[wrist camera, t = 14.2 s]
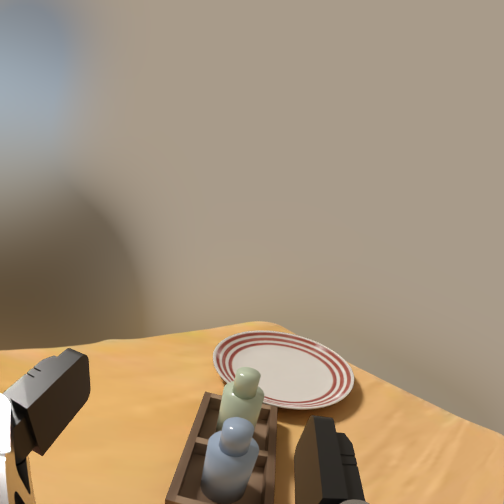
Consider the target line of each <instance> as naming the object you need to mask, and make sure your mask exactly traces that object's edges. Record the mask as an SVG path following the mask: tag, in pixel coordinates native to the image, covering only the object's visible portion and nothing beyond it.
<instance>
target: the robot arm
mask: <svg viewBox="0 0 504 504" xmlns="http://www.w3.org/2000/svg"><path fill="white" fill-rule="evenodd" d="M89 394H90V375H89V360H88V357H87V355H85V354H82V353H80V352H77V351H75V350H73V349H70V348H68V349H66V350H65V351H64V352H62V353H61V354H60V355H59V356H58V357H56V356H51V357H49V358H46V359H43V360H42V361H40V362H39V363H38V364H37V365H36V366H34V368H32V369H31V370H30V371H28V372H27V374H25V375H24V376H22V377H21V378H20V379H19V380H18V381H17V382H15V383H14V384H13V385H12V386H11V387H10V388H8V389H7V390H6V391H5V392H4V393H3V394H0V504H36V502H35V497H34V492H33V485H32V478H31V471H30V462H29V457H28V454H29V453H30V452H31V451H32V450H33V451H35V452H36V453H38V454H40V455H41V456H43V455H44V454H45V452H46V451H47V450H48V449H49V447H50V446H51V445H52V444H53V442H54V441H55V440H56V439H57V437H58V436H59V435H60V434H61V432H62V431H63V430H64V429H65V427H66V426H67V425H68V424H69V422H70V421H71V420H72V419H73V418H74V416H75V415H76V414H77V413H78V411H79V410H80V409H81V408H82V407H83V405H84V404H85V403H86V401H87V400H88V397H89ZM294 472H295V504H369V503H367V502H366V501H365V498H364V493H363V489H362V484H361V480H360V475H359V471H358V466H357V462H356V458H355V453H354V449H353V445H352V443H351V441H350V440H349V439H348V437H347V436H346V435H345V433H336V429H335V424H334V420H333V418H329V417H321V416H313V415H312V416H310V418H309V419H308V422H307V424H306V426H305V428H304V431H303V433H302V435H301V437H300V439H299V442H298V444H297V446H296V450H295V456H294Z"/></svg>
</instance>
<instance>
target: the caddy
mask: <svg viewBox="0 0 504 504" xmlns="http://www.w3.org/2000/svg"><path fill="white" fill-rule="evenodd" d="M221 400H222V396H221V395H217V394H212V393H208V392H205V394H204V396H203V399H202V402H201V404H200V407H199V410H198V413H197V415H196V418H195V421H194V423H193V426H192V429H191V431H190V434H189V437H188V440H187V442H186V445H185V448H184V450H183V453H182V456H181V458H180V461H179V464H178V466H177V469H176V472H175V474H174V477H173V480H172V483H171V485H170V488H169V491H168V493H167V496H166V499H165V504H221V503H217V502H214V501H212V500H210V499H208V498H207V497H206V496H205V495H204V494H203V492H202V491H201V487H200V484H201V478H202V473H203V467H204V462H205V456H206V451H207V445H208V441H209V438H210V437H211V436H212V435H213V434H214V433H215V431H216V426H217V421H218V416H219V410H220V405H221ZM276 434H277V407H276V406H271V405H265V404H262V407H261V410H260V414H259V417H258V421H257V424H256V427H255V431H254V434H253V437H252V438H253V439H254V440H255V441H256V442H257V444H258V446H259V454H258V457H257V460H256V463H255V465H254V468H253V471H252V474H251V477H250V479H249V482H248V485H247V488H246V490H245V493H244V495H243V497H242V498H241V499H240V500H238V501H237V502H234V503H230V504H274V486H275V462H276Z"/></svg>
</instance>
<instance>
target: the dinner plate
mask: <svg viewBox="0 0 504 504" xmlns="http://www.w3.org/2000/svg"><path fill="white" fill-rule="evenodd" d="M213 363H214V366H215V368H216V370H217V372H218V374H219V375H220V376H221V378H222V379H223V380H224V381H225V382H226V383H229V382H232V381H234V380H235V376H236V371H237V369H239V368H241V367H250V368H253V369H256V370H257V371H259V373H260V374H261V377H260V381H259V385H258V387H260V388H261V389H262V390H263V392H264V400H263V403H264V404H267V405H271V406H276V407H280V408H286V409H297V410H306V409H317V408H323V407H326V406H330V405H333V404H335V403H338V402H339V401H341V400H343V399H344V398H345V397H346V396H347V395H348V394H349V393H350V392H351V390H352V388H353V385H354V374H353V371H352V369H351V367H350V366H349V364H348V363H347V362H346V361H345V360H344V359H343V358H342V357H341V356H340V355H338V354H337V353H336V352H334V351H333V350H331V349H330V348H328V347H326V346H324V345H322V344H320V343H318V342H315V341H313V340H310V339H307V338H304V337H301V336H297V335H293V334H289V333H283V332H276V331H248V332H242V333H238V334H234V335H232V336H229V337H227V338H225V339H224V340H222V341H221V342H220V343H219V344H218V345H217V346H216V348H215V350H214V353H213Z"/></svg>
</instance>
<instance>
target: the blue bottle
mask: <svg viewBox="0 0 504 504" xmlns="http://www.w3.org/2000/svg"><path fill="white" fill-rule="evenodd" d="M253 433H254V426H253V424H252V423H251V422H250V421H248V420H246V419H244V418H240V417H232V418H228V419H226V420H225V421H224V423H223V427H222V431H219V432H216V433H214V434H213V435H212V436H211V437H210V438H209V441H208V445H207V451H206V456H205V462H204V467H203V473H202V478H201V484H200V487H201V491H202V492H203V494H204V495H205V496H206V497H207V498H208V499H210V500H212V501H214V502H217V503H221V504H230V503H234V502H237V501H238V500H240V499H241V498H242V497H243V495H244V493H245V490H246V488H247V485H248V482H249V479H250V477H251V474H252V471H253V468H254V465H255V463H256V460H257V457H258V454H259V446H258V444H257V442H256V441H255V440H254V439H253V438H252V436H253Z"/></svg>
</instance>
